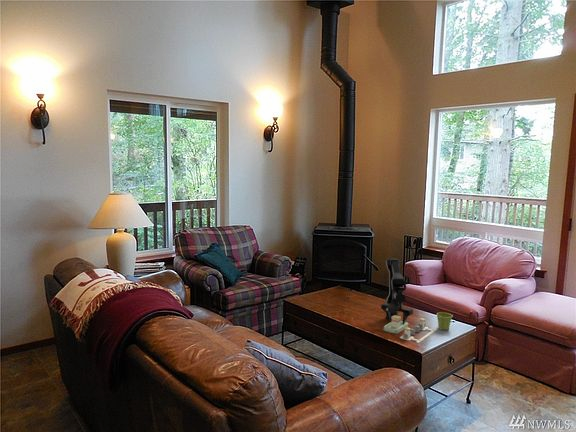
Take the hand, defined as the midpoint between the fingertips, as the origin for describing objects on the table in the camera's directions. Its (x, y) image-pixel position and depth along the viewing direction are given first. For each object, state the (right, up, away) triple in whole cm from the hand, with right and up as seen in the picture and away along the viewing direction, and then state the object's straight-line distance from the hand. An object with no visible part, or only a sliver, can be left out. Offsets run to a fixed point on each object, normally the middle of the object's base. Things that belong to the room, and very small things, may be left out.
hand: (396, 322), depth 252 cm
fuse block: (+11, -5, -8) cm, 15 cm away
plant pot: (+30, -4, +2) cm, 30 cm away
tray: (0, -4, 0) cm, 4 cm away
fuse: (0, -3, 0) cm, 3 cm away
